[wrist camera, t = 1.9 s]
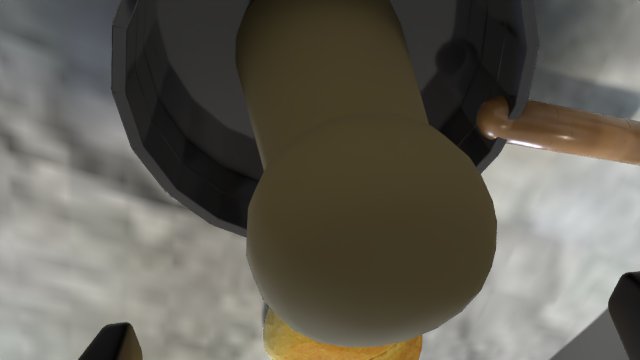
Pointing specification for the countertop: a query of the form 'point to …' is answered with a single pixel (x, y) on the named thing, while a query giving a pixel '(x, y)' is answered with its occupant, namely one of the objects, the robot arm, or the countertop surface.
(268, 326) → the bread roll
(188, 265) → the countertop surface
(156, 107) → the pan
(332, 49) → the olive gourd
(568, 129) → the pan handle
